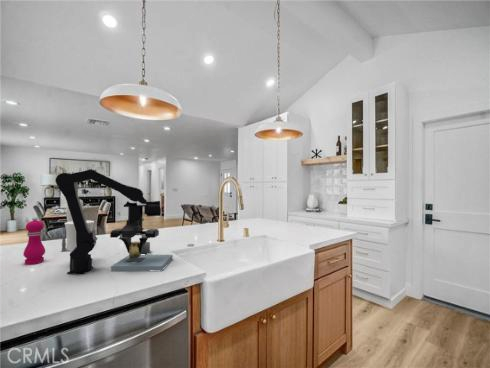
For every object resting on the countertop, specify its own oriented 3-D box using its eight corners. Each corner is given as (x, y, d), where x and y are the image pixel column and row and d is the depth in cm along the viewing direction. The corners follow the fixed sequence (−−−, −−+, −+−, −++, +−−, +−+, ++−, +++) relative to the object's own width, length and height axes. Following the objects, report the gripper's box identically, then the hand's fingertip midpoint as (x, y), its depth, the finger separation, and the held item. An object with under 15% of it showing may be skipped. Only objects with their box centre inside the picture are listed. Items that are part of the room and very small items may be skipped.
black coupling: (131, 255, 118) (132, 245, 118) (138, 251, 125) (138, 241, 125) (146, 255, 118) (146, 245, 118) (151, 251, 125) (152, 241, 125)
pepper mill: (20, 263, 104) (20, 217, 104) (40, 259, 110) (41, 215, 110) (27, 266, 100) (28, 218, 101) (48, 261, 107) (49, 216, 107)
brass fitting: (127, 258, 101) (127, 243, 101) (131, 255, 106) (132, 241, 106) (137, 258, 101) (138, 244, 102) (141, 255, 106) (142, 241, 106)
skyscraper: (67, 248, 130) (68, 196, 130) (84, 247, 133) (85, 196, 133) (60, 252, 122) (61, 197, 122) (79, 251, 125) (80, 197, 125)
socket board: (111, 271, 95) (111, 266, 95) (129, 258, 111) (129, 254, 111) (161, 271, 96) (161, 266, 96) (172, 258, 112) (172, 254, 112)
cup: (78, 268, 99) (79, 224, 99) (57, 266, 101) (58, 223, 101) (99, 260, 109) (99, 220, 109) (79, 258, 111) (80, 220, 111)
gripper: (103, 219, 95) (102, 258, 95) (150, 219, 96) (149, 258, 96) (117, 215, 107) (116, 251, 106) (159, 216, 107) (158, 251, 107)
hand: (134, 253), depth 104 cm, fingers closed on brass fitting, 4 cm apart
